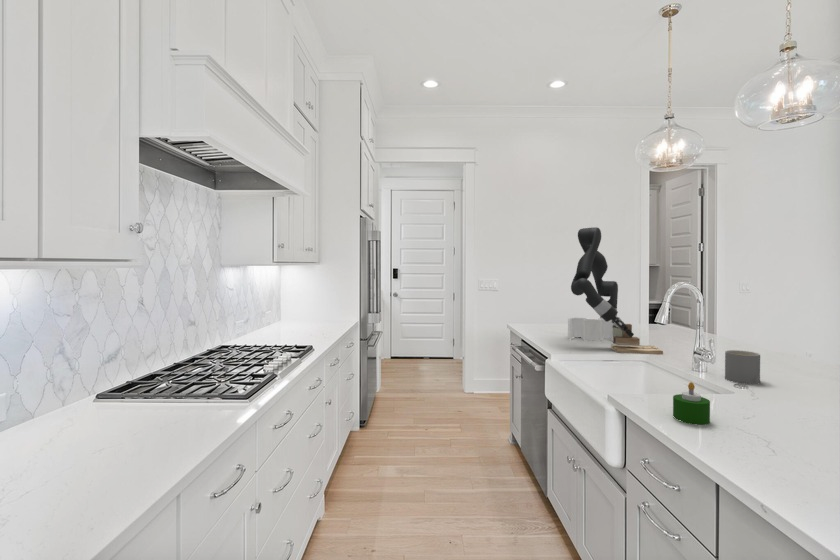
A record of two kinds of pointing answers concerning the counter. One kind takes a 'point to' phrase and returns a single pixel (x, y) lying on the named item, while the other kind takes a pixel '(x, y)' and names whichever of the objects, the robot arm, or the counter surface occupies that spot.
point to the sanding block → (627, 338)
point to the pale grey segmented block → (590, 328)
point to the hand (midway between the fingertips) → (631, 335)
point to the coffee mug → (742, 366)
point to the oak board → (636, 349)
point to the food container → (616, 332)
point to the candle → (691, 407)
